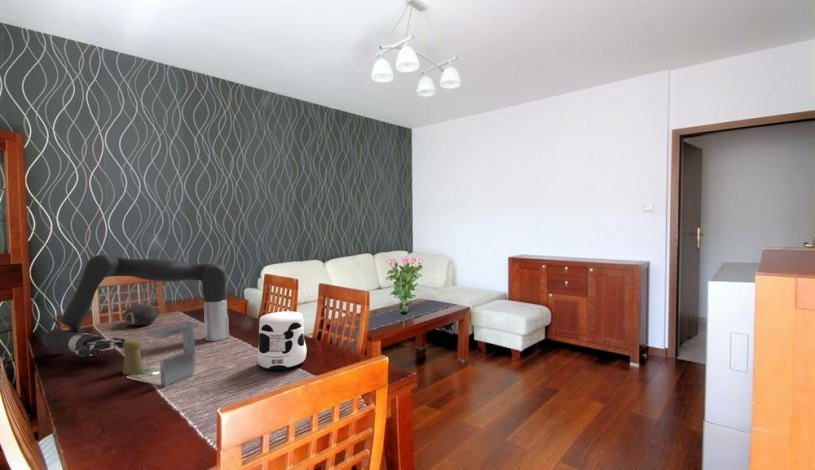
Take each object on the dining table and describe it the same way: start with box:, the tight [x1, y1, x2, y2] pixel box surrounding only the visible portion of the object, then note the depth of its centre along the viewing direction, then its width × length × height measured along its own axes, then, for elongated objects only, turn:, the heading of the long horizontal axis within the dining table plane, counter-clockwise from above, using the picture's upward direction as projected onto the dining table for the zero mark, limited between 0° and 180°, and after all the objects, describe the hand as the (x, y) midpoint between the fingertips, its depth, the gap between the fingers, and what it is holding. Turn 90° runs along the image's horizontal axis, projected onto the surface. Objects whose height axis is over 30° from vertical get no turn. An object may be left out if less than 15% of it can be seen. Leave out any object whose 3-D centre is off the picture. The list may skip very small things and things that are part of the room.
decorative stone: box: [123, 303, 159, 327], centre depth 203 cm, size 19×14×10 cm
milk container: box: [256, 311, 308, 371], centre depth 146 cm, size 17×17×18 cm
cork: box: [122, 339, 144, 375], centre depth 141 cm, size 6×6×11 cm
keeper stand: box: [126, 321, 207, 388], centre depth 138 cm, size 19×16×16 cm
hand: (113, 349), depth 145 cm, fingers open, 8 cm apart
